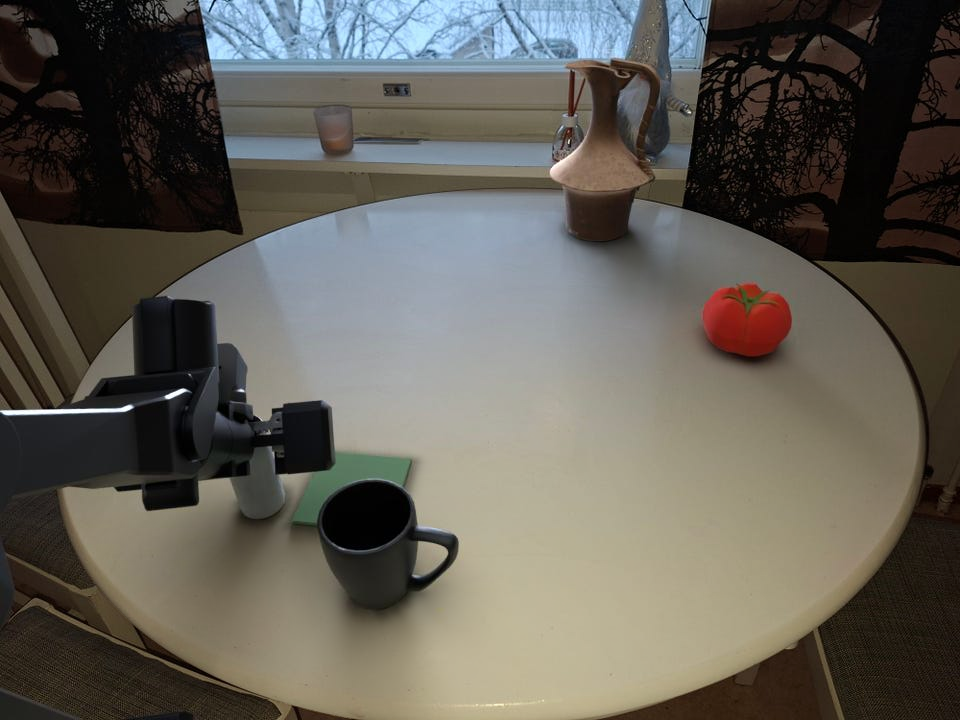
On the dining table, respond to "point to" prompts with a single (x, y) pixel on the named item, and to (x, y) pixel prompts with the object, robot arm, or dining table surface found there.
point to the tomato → (746, 319)
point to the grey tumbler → (259, 484)
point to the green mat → (348, 480)
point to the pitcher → (606, 155)
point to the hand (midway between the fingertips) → (250, 447)
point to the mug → (377, 542)
